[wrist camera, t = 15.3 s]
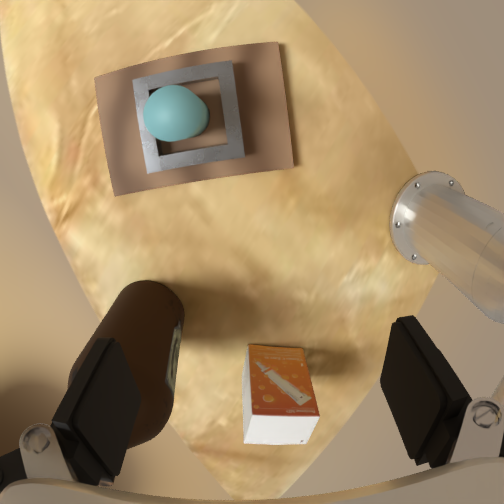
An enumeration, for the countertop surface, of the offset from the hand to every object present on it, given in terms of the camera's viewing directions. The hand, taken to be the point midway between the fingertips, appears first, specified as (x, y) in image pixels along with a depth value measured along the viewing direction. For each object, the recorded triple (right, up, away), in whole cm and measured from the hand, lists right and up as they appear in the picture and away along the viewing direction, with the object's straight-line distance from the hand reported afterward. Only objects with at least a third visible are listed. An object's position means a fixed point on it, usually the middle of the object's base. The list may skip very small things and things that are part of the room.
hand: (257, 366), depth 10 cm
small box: (+3, -12, +35) cm, 37 cm away
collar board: (-7, +18, +22) cm, 29 cm away
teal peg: (-7, +18, +20) cm, 28 cm away
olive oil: (-14, -4, +31) cm, 34 cm away
